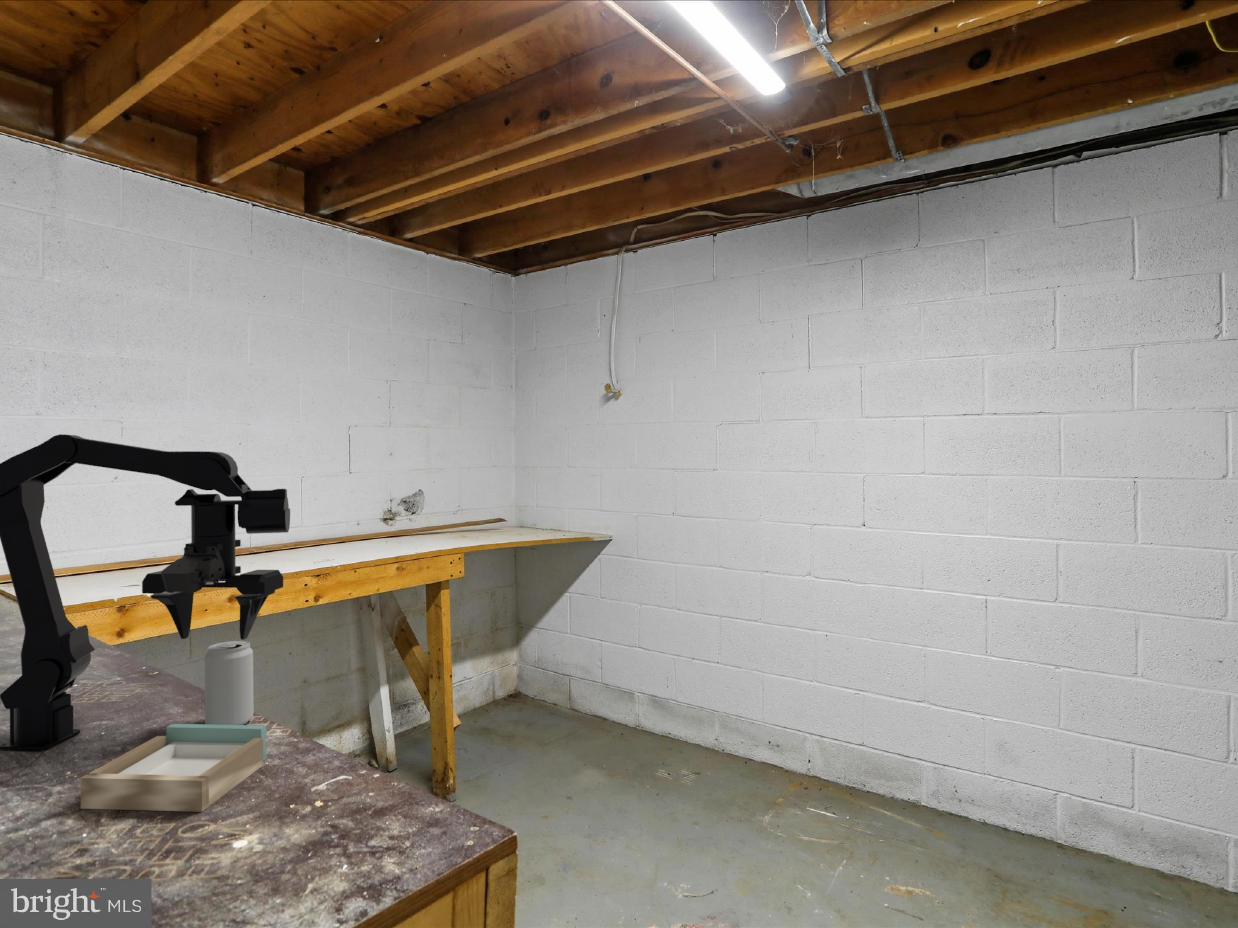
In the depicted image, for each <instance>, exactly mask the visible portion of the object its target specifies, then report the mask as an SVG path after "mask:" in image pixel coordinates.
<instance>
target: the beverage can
mask: <svg viewBox="0 0 1238 928" xmlns="http://www.w3.org/2000/svg"><path fill="white" fill-rule="evenodd" d="M254 710H255V708H254V650H253V649H252V648H251V642H250V641H247V640H231V641H224V642H223V641H222V642H218V643H215V644H214V643H213V644H212V645H210V646H208V647H207V653H206V654H205V656H204V717H205V718H204V721H205V722H204V724H208V725H244V724H246V723H247V722H248V721H249V722H250V720H252V719H253V717H254V715H255V713H254V712H255V711H254ZM249 712H250V713H249ZM253 714H254V715H253ZM249 722H248V723H249ZM248 723H247V724H248ZM247 724H246V725H247Z"/></svg>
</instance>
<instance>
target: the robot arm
mask: <svg viewBox="0 0 1238 928" xmlns="http://www.w3.org/2000/svg"><path fill="white" fill-rule="evenodd" d="M76 464H79V465H80V464H81V465H85V466H91V467H92V466H93V467H99V468H106V469H111V470H119V471H120V470H121V471H128V472H134V473H140V474H147V475H154V476H159V477H163V478H165V479H169V480H172V481H174V482H176V483H180V484H182V485H186V486H189V487H192V488H190V489H187V490H186V491H185V493H183V495H182V496H181V497H179V498H178V499H176V500H175V501H174V505H175V506H179V507H180V506H182V507H183V506H185V507H186V506H190V507H191V508H190V511H191V512H190V515H191V518H190V521H191V522H190V523H191V524H190V525H191V527H190V528H191V529H190V531H191V533H190V534H191V536H190V537H191V540H190V541H191V542H189V543H188V542H187V543H185V544H184V545H185V546H184V548H183V556H182V557H180V558H178V559H175V561H173V562H171V563H170V564H169V565H168V566H166V567H165V568H163V569H162V570H159V571H154V572H149V573H147V574H146V575H145V576H144V578H143V580H142V581H141V594H151V595H150V598H151V599H152V600H157V601H158V602H160V603H162V604H163V605H164V606H165V608H166V609H167V611H168V612H169V614H170V617H171V619H172V621H173V623H174V625H175V627H176V630H177V632H178V634H179V637H180V639H181V640H185V639H188V638H189V636H190V632H191V625H192V617H193V615H192V614H193V607H194V606H193V604H194V594H195V593H198V592H200V590H202V589H203V588H214V589H215V588H218V589H220V588H223V589H224V588H225V589H226V588H230V589H232V588H233V589H234V588H236V591H238V592H239V593H240V594H239V595H237V596H235V597H234V598H235V599H236V602H237V604H239V637H240V641H245V640H247V639H248V637H249V635H250V632H251V630H252V628H253V626H254V623H255V621H256V620H257V617H258V615H259V613H260V610H261V609H262V607H264V603H265V602H266V600H267V598H268V596H270V595H273V594H274V595H275V592H276V590H279V589H282V588H284V576H283V574H282V572H280V570H279V569H255V570H251V571H246V572H244V573H241V572H242V570H241V569H242V567H241V565H236V548H239V547H241V546H242V545H241V539H236V505H237V524H238V527H239V528H241V529H245V532H246V534H248V535H251V534H252V535H253V534H277V533H278V534H279V533H280V534H281V533H284V534H286V533H288V532H289V530H290V524H291V523H290V522H291V508H289V507H290V506H289V498H288V489H286V488H276V489H267V490H266V489H263V490H260V489H259V490H252V488H251V487H250V486H249V485H248V483H246V482H245V481H244V479H243V478H242V477H241V476H240V475H239V473H238V472H239V471H238V469H239V468H238V465H237V462H236V461H235V460H234V458H233V456H231V455H230V454H228V453H224V452H220V451H200V450H199V451H197V450H195V451H193V450H192V451H191V450H190V451H188V450H187V451H184V450H183V451H177V450H176V451H166V450H160V449H154V448H148V447H141V446H135V445H129V444H122V443H115V442H110V441H103V440H96V439H89V438H85V437H82V436H79V435H76V434H74V435H73V434H56V435H54V436H51V437H49V439H48V440H47V439H46V440H45V441H43V442H42V443H40V444H39V445H36V446H34V447H32V448H30V449H27V450H24V451H22V452H21V453H18V454H16V455H13V456H12V457H10V458H7V459H6V460H5V461H3V462H0V542H1V547H2V551H3V554H4V558H5V561H6V566H7V568H8V572H9V575H10V579H11V584H12V585H13V590H14V594H15V598H16V600H17V604H18V607H19V612H20V614H21V619H22V623H23V627H24V636H23V641H22V645H21V650H20V665H21V675H20V677H18V678H17V679H16V680H15V681H14V682H13V683H11V684H10V685H9V686H8V687H7V688H6V689H5V690H4V691H3V692H1V693H0V700H1V702H2V704H3V706H4V708H5V709H6V710H9V741H7V742H3V743H2V744H0V750H4V751H5V750H12V751H15V750H17V751H42V750H46V749H48V748H51V747H53V746H56V745H57V744H59V743H61V742H64V741H65V740H68V739H70V738H73V737H74V736H76V735H78V734H80V733H81V729H80V728H74V705H73V704H72V694H71V693H67V692H66V691H67V690H69V689H70V688H72V687H74V685H75V682H76V679H77V678H78V677H80V676H81V675H82V674H83V673H84V672H85V671H86V670H87V668H88V667H89V665H90V664H91V660H92V658H91V653H93V652H94V651H96V649H95V648H94V646H93V644H91V641H90V637H89V627H88V625H86V624H84V625H82V626H79V627H76V626H74V625H73V623H72V622H71V621H70V620H69V619H68V617H67V615H66V612H65V611H66V610H65V608H64V604H63V600H62V596H61V593H60V590H59V585H58V582H57V579H56V575H55V572H54V571H55V570H54V568H53V564H52V560H51V557H50V552H49V548H48V546H47V542H46V537H45V536H44V530H43V527H42V524H41V523H42V522H41V521H42V517H43V511H44V505H45V502H46V501H45V499H46V498H45V485H46V484H48V483H50V482H51V481H53V480H55V479H57V478H58V477H60V476H61V475H62V474H63V473H65V472H66V471H67V470H68V469H69V468H71V467H72V466H74V465H76ZM193 488H194V489H195V488H196V489H199V490H203V491H215V492H218V493H197V492H196V491H195V490H194V489H193ZM219 493H220V494H221V495H223V496H225V497H227V498H237V497H238V498H239V497H240V498H241V499H237V500H235V499H234V500H233V499H232V500H226V499H225V500H224V499H223V500H222V499H221V495H220V494H219Z"/></svg>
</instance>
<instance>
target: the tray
mask: <svg viewBox="0 0 1238 928" xmlns="http://www.w3.org/2000/svg"><path fill="white" fill-rule="evenodd" d="M165 728H166V729H165V734H166V735H165V736H166V746H165V747H163V748H162V749H160V750H158V751H156V752H155V753H153V754H151V755H150V756H148V757H146V758H144V759H143V760H141V761H139V762H137V763H136V764H134V765H132V766H130V767H129V768H127V769H125V770H124V771H122V772H120V773H118V774H140V775H183V776H199V775H201V774H202V773H204V772H205V771H207V770H208V769H210V768H211V767H213V766H214V765H215V764H217V763H218V762H220V761H221V760H223V759H224V758H226V757H227V756H229V755H230V754H232V753H233V752H235V751H236V750H237V749H239V748H240V747H242V746H243V745H245V744H246V743H248V742H249V741H251V740H252V739H254V738H263V762H264V761H265V760H266V759H267V725H261V724H260V725H254V724H253V725H252V724H251V725H250V724H246V725H208V724H205V723H204V724H202V723H200V724H198V723H195V724H193V723H171V724H170V725H168V726H165Z"/></svg>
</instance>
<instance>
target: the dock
mask: <svg viewBox="0 0 1238 928" xmlns="http://www.w3.org/2000/svg"><path fill="white" fill-rule="evenodd" d="M165 746H166V735H156V736H155V737H152V738H151V739H149V740H148V741H146V742H143V743H142V744H140V745H138V746H137V747H136V746H135V748H133V749H131V750H129V751H127V752H125V753H123V754H122V755H120V756H118V757H117V758H115V759H113V760H111V761H109V762H107V763H106V764H104V765H102V766H100V767H98V768H96V769H94V770H92V771H91V772H89V773H87V774H85V775H83V776H82V777H80V809H82V810H83V809H84V810H87V809H88V810H118V811H119V810H121V811H122V810H123V811H124V810H125V811H126V810H127V811H156V812H157V811H159V812H165V811H166V812H190V813H191V812H193V813H195V812H196V813H197V812H198V813H203V812H204V811H205V810H207V809H208V808H209V807H211V806H212V805H213V804H214V803H215V802H217V801H219V799H222V797H224V796H225V795H227V794H228V793H229V792H230V791H231V790H233V789H234V788H235V787H237V786H238V785H239V784H241V783H242V782H244V780H246V779H247V778H248V777H249V776H251V775H252V774H253V773H255V772H256V771H257V770H259V769H260V768H261V767H263V766H264V761H263V738H254V739H252V740H251V741H249V742H248V743H246V744H245V745H243V746H242V747H240V748H239V749H237V750H236V751H235V752H233V753H232V754H230V755H229V756H227V757H226V758H224V759H223V760H221V761H220V762H218V763H217V764H215V765H214V766H213V767H211V768H210V769H208V770H207V771H205V772H204V773H202V774H201V775H199V776H183V775H140V774H118V773H120V772H122V771H124V770H125V769H127V768H129V767H130V766H132V765H134V764H136V763H137V762H139V761H141V760H143V759H144V758H146V757H148V756H150V755H151V754H153V753H155V752H156V751H158V750H160V749H162V748H163V747H165Z"/></svg>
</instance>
